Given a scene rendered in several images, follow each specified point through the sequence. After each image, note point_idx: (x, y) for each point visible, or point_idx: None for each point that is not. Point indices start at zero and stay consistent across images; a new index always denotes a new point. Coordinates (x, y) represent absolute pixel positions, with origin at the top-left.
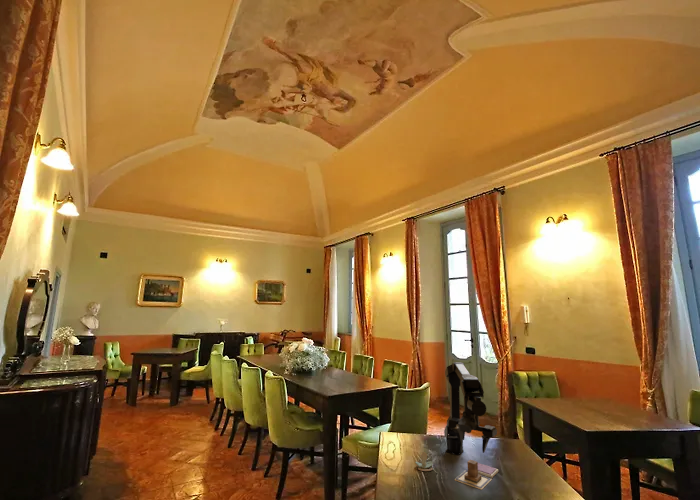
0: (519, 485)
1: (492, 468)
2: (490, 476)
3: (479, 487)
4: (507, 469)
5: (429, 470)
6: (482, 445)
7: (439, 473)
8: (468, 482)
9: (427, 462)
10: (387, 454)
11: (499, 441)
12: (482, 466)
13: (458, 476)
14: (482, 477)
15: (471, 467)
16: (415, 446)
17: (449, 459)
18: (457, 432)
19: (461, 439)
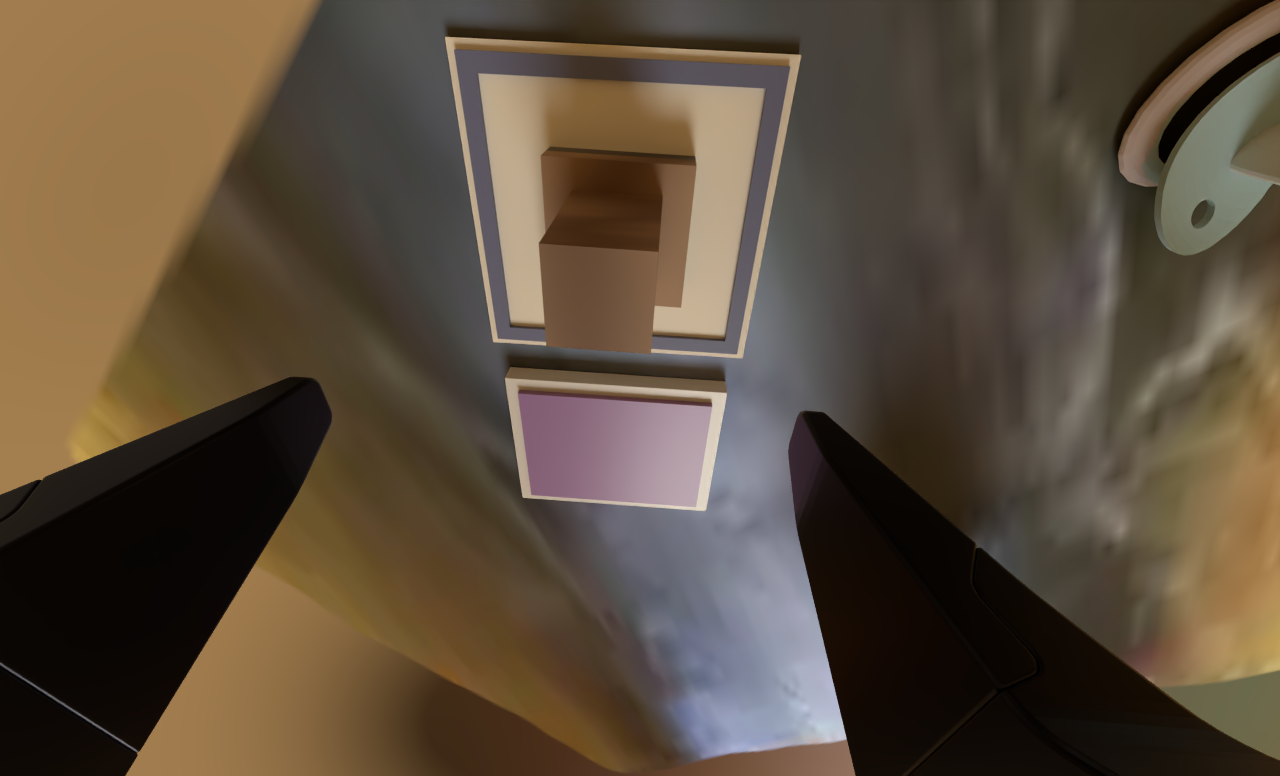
0: None
1: (553, 482)
2: (518, 372)
3: (475, 50)
4: (500, 537)
5: (1178, 70)
6: (149, 464)
7: (1014, 112)
8: (629, 101)
9: (1213, 232)
10: None
11: (677, 746)
12: (627, 473)
13: (770, 165)
14: None
15: (600, 226)
16: (1268, 530)
17: (922, 472)
18: (1152, 763)
19: (841, 550)
